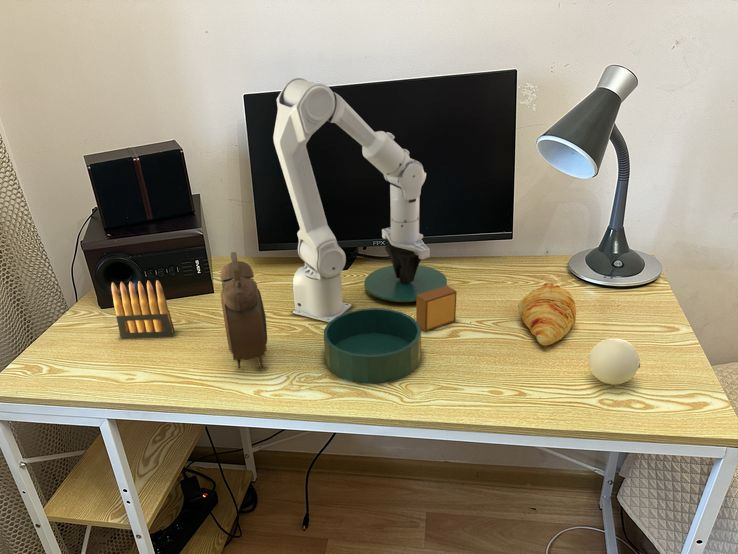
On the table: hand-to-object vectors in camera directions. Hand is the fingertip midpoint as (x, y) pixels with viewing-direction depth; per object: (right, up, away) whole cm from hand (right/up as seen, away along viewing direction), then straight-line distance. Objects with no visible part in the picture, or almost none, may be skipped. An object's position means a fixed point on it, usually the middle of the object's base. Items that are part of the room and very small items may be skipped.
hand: (404, 279), depth 135 cm
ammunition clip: (-53, -12, -7) cm, 55 cm away
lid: (0, -1, +1) cm, 1 cm away
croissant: (+24, -10, -15) cm, 30 cm away
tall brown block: (+4, -10, -13) cm, 16 cm away
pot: (-9, -16, -21) cm, 28 cm away
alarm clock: (-31, -16, -17) cm, 39 cm away
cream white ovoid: (+28, -19, -31) cm, 47 cm away
